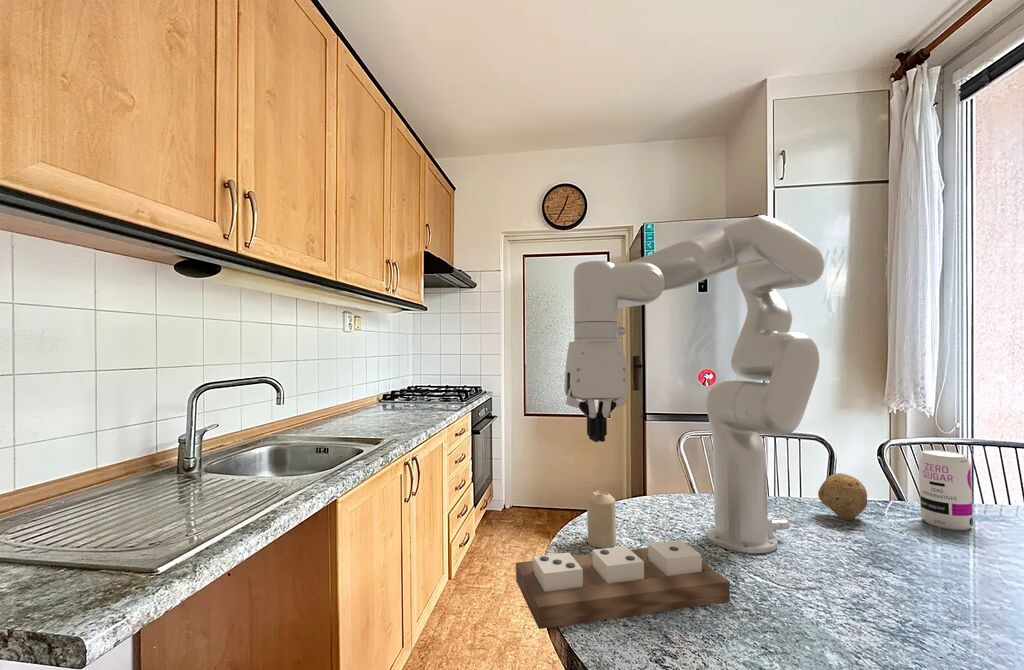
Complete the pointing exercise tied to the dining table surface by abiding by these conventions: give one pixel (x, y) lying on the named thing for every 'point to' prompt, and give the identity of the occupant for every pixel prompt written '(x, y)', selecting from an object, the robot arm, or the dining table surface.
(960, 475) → the supplement can
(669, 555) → the tile one
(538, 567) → the tile three
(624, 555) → the tile two
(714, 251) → the robot arm
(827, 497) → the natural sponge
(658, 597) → the panel
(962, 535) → the dining table surface
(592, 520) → the candle
